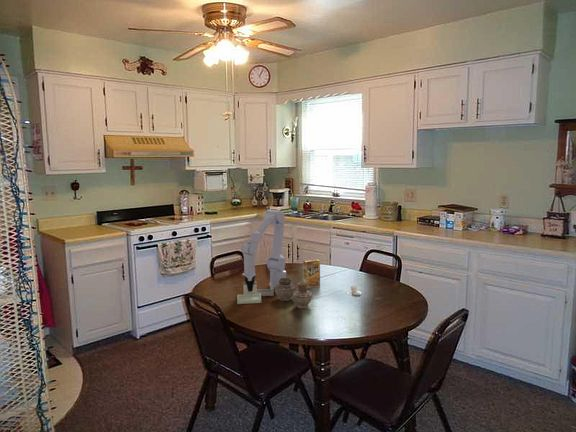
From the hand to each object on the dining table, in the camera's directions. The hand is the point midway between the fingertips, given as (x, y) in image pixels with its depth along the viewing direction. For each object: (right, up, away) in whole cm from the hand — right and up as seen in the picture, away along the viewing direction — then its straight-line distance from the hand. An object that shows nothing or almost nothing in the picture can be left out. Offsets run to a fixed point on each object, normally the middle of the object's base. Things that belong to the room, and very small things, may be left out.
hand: (250, 289), depth 230 cm
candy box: (+34, -1, +13) cm, 37 cm away
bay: (+7, -2, +1) cm, 7 cm away
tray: (0, -4, -9) cm, 9 cm away
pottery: (+23, -5, -13) cm, 27 cm away
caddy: (0, -2, 0) cm, 2 cm away
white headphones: (+54, -3, -1) cm, 54 cm away
